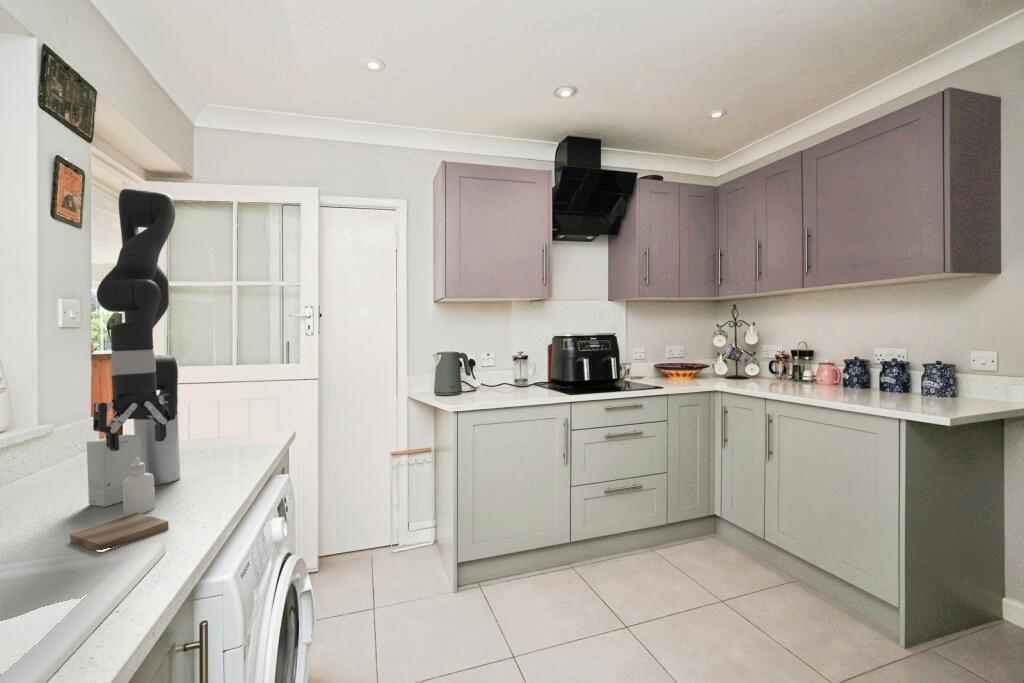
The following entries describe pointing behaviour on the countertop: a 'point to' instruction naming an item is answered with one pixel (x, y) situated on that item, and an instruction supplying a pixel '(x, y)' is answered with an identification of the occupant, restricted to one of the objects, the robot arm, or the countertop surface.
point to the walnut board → (119, 531)
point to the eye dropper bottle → (138, 490)
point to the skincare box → (110, 468)
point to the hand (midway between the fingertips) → (137, 445)
